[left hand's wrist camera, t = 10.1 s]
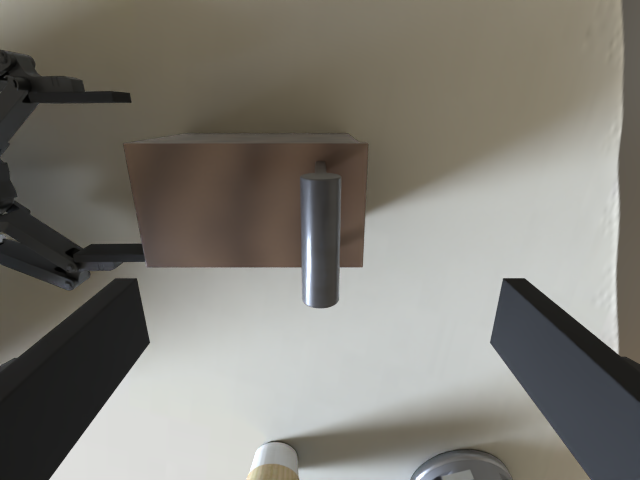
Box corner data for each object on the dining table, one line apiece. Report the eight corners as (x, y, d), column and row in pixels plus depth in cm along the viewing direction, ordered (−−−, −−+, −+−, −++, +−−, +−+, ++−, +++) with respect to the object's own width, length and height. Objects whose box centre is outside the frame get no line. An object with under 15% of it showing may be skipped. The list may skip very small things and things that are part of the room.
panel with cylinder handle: (366, 142, 25) (390, 157, 17) (361, 262, 28) (378, 325, 20) (130, 142, 25) (35, 157, 17) (152, 262, 28) (82, 325, 20)
